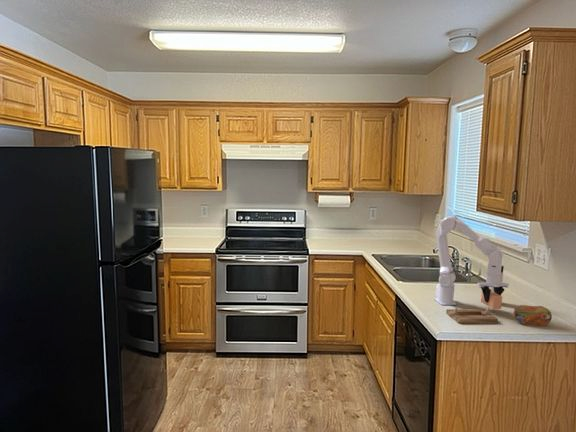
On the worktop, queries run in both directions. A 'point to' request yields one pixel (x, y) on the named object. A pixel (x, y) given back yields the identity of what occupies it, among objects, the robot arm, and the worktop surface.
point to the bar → (493, 300)
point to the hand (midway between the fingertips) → (491, 301)
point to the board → (471, 316)
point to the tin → (532, 315)
